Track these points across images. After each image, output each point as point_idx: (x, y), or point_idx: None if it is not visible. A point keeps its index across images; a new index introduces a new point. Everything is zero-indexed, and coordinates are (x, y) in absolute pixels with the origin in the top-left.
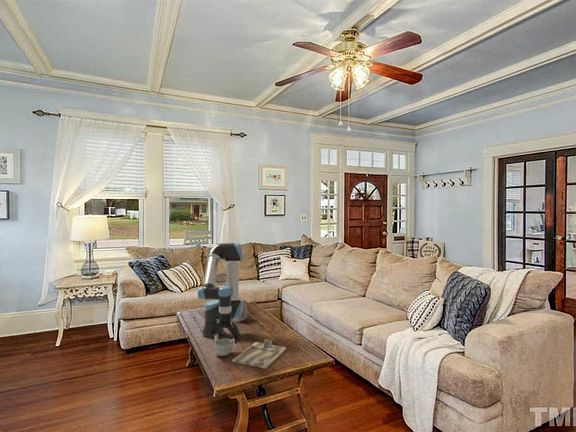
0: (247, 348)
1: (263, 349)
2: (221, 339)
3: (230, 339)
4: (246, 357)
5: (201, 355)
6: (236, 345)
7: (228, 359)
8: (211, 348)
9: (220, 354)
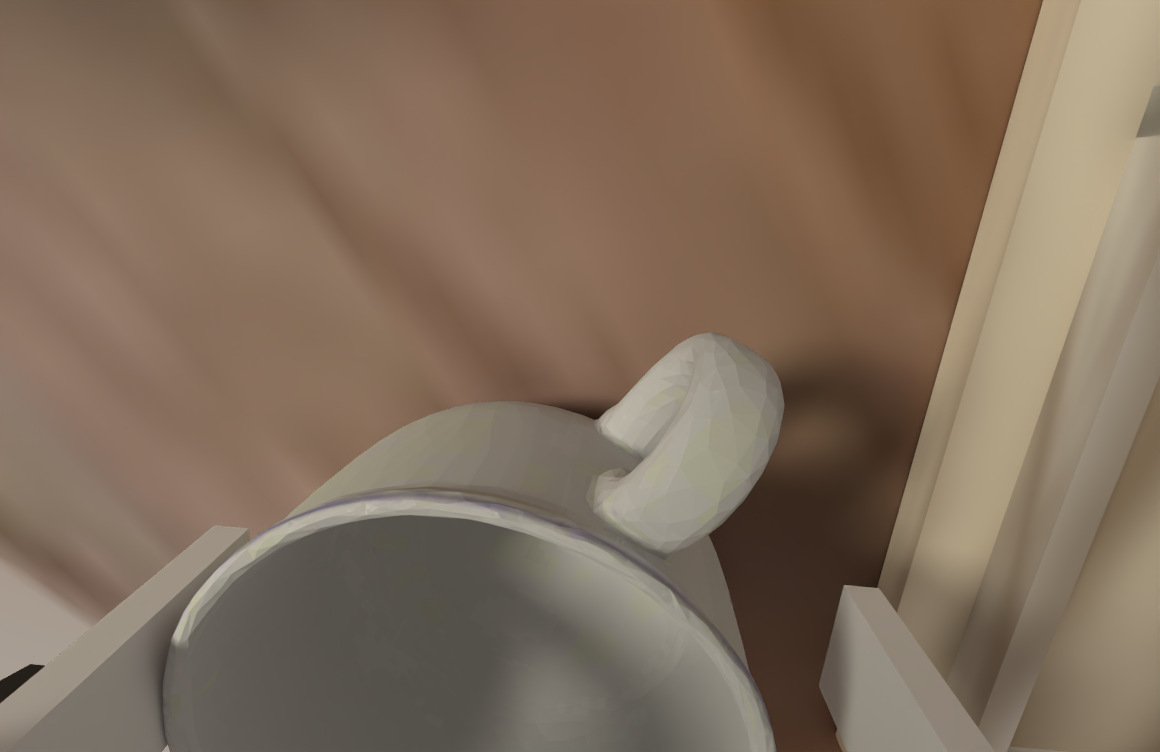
0: (1026, 204)
1: None
2: (241, 579)
3: (613, 566)
4: (1112, 635)
5: None
6: (912, 647)
7: None
8: (96, 363)
9: (546, 719)
